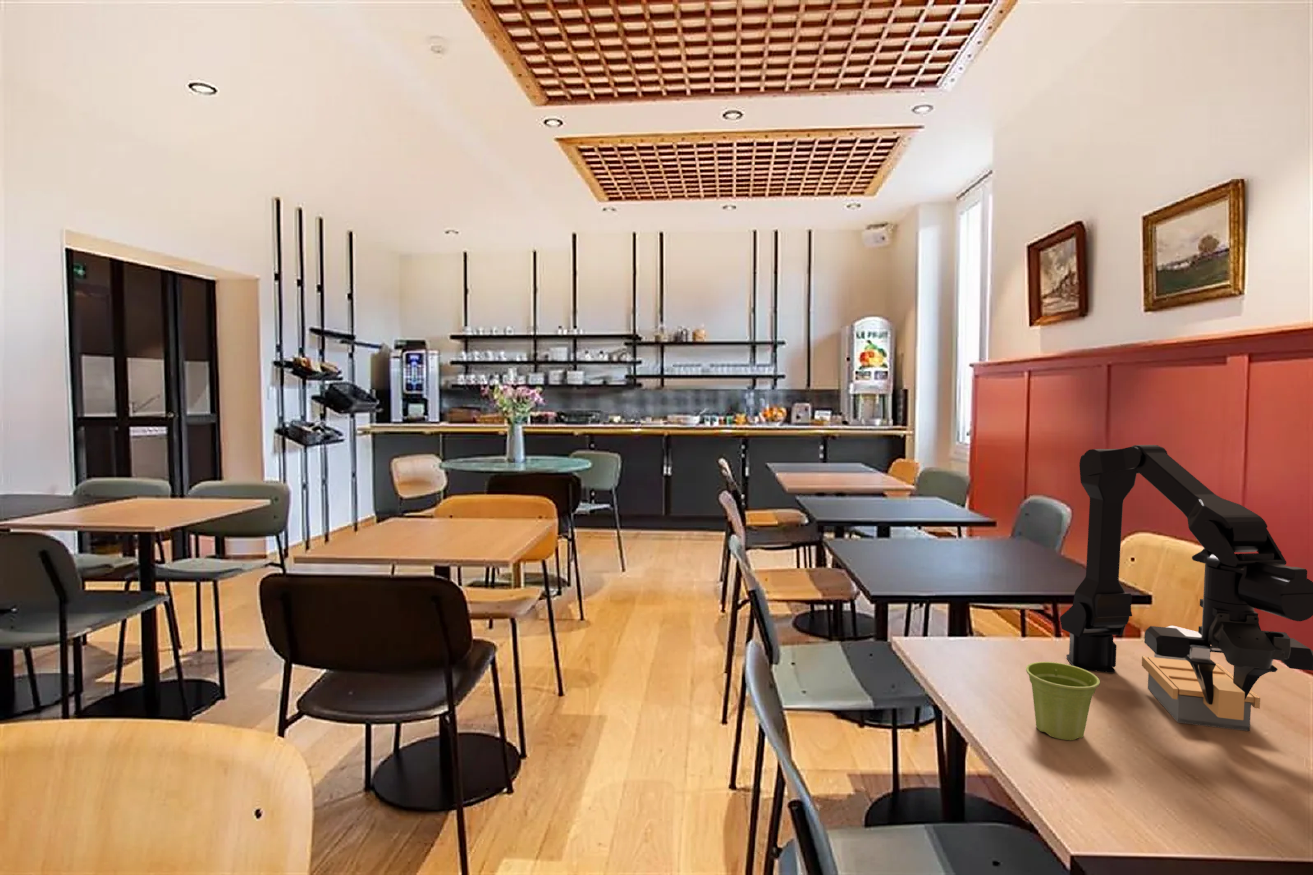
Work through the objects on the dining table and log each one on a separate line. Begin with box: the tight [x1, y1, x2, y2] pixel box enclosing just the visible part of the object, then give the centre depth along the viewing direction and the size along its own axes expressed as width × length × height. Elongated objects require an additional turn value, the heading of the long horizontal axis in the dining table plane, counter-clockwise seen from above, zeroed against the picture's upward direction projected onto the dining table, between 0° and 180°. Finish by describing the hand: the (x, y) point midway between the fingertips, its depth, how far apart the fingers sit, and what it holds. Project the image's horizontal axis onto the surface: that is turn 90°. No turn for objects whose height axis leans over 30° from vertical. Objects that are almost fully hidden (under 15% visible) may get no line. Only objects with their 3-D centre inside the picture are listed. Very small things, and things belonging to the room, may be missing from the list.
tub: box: [1147, 672, 1252, 732], centre depth 112 cm, size 9×13×4 cm
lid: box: [1141, 655, 1261, 720], centre depth 110 cm, size 11×19×4 cm, turn 162°
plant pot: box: [1025, 661, 1101, 741], centre depth 105 cm, size 9×9×9 cm
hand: (1223, 705), depth 103 cm, fingers closed on lid, 3 cm apart
